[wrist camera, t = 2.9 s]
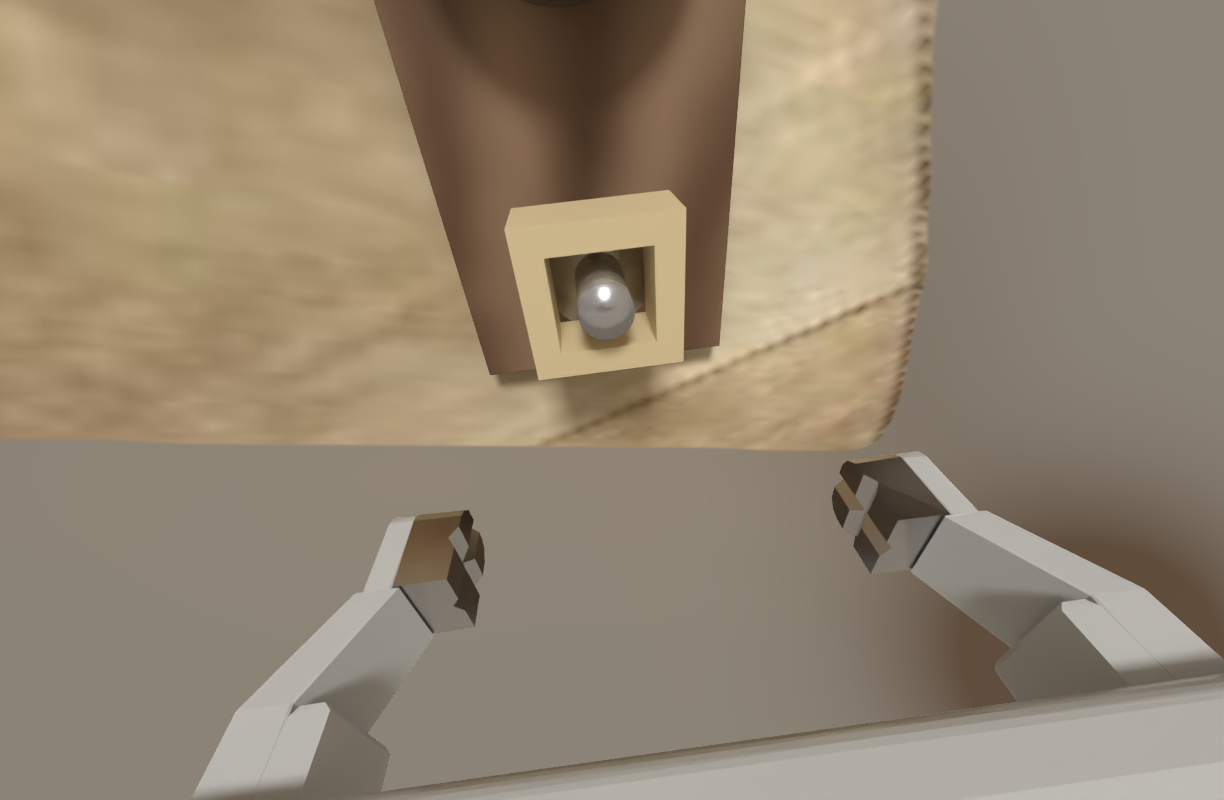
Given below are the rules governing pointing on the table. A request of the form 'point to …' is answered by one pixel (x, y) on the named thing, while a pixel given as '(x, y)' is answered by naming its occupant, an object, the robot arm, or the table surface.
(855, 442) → the table surface
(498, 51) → the base board
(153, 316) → the table surface
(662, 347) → the collar
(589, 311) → the silver knob
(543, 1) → the hub
